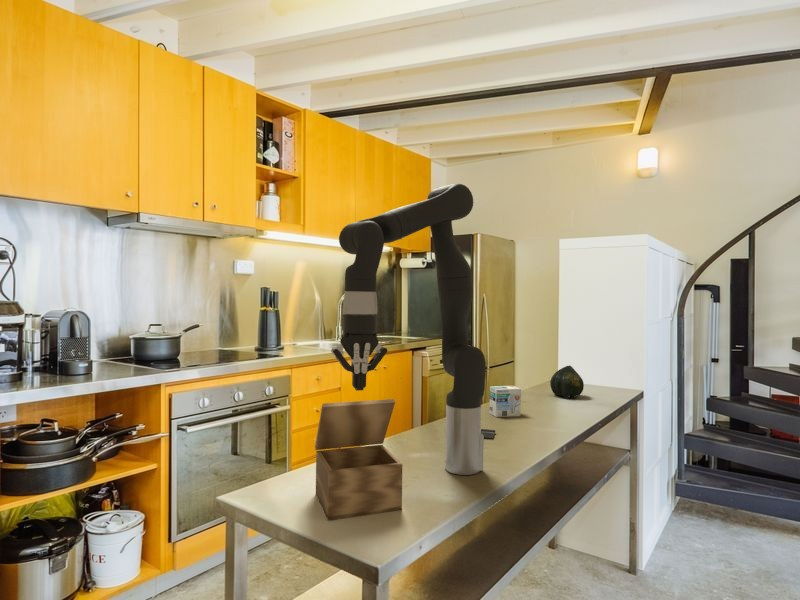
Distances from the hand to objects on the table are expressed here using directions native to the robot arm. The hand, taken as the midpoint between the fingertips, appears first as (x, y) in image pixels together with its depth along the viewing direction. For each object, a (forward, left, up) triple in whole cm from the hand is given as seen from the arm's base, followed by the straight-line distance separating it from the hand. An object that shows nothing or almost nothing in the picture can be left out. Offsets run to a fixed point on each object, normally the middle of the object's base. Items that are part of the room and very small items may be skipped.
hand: (358, 389), depth 110 cm
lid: (0, -3, -9) cm, 9 cm away
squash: (-123, -82, -25) cm, 150 cm away
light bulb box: (-76, -60, -25) cm, 100 cm away
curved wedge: (-52, -39, -26) cm, 70 cm away
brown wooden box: (0, 0, -25) cm, 25 cm away
